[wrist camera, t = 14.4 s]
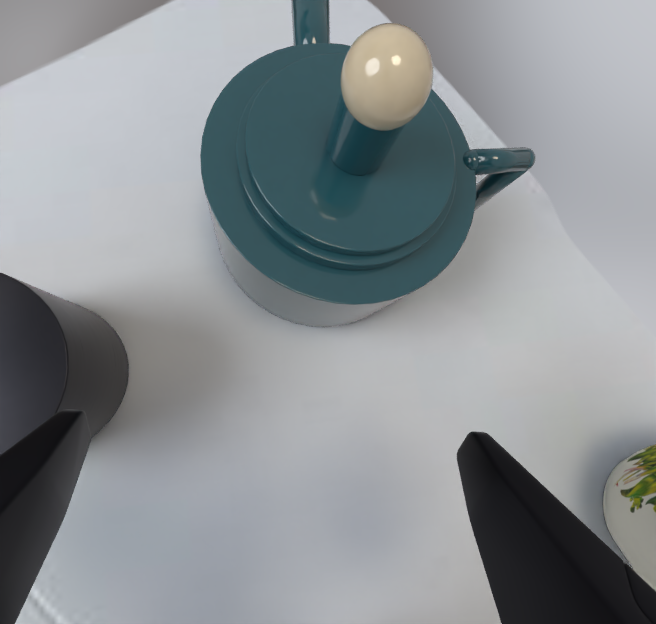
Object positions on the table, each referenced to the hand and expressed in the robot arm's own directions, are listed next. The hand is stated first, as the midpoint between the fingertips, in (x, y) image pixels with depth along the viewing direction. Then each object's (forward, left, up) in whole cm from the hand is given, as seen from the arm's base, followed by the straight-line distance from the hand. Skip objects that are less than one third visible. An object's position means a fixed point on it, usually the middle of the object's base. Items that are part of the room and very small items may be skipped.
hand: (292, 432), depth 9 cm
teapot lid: (+10, -5, -5) cm, 12 cm away
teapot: (+13, -7, -13) cm, 20 cm away
